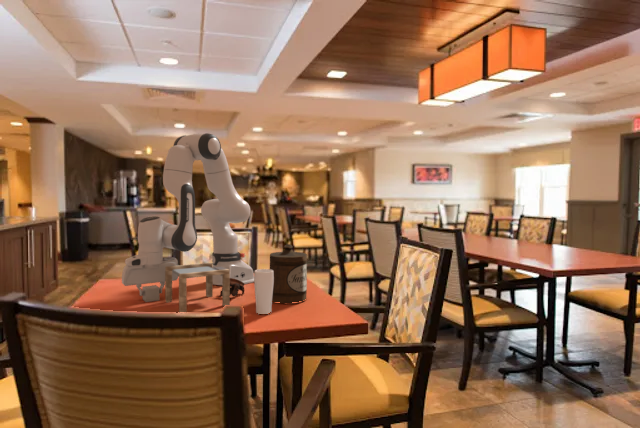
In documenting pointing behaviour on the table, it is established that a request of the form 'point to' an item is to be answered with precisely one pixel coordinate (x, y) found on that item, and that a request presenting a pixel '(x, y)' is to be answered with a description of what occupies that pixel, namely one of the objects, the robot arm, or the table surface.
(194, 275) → the frame
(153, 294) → the block
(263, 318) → the table surface
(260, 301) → the tall white cup
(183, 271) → the trapdoor
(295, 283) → the wooden container
